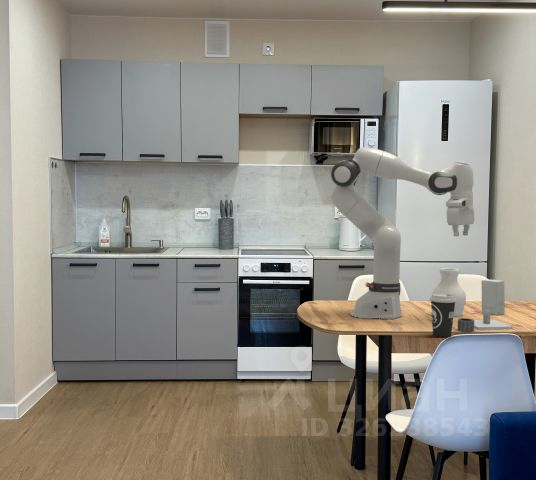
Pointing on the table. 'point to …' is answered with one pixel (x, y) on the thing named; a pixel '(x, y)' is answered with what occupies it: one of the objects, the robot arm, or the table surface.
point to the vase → (452, 289)
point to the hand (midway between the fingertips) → (460, 235)
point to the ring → (465, 324)
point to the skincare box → (493, 296)
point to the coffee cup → (442, 313)
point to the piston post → (489, 323)
